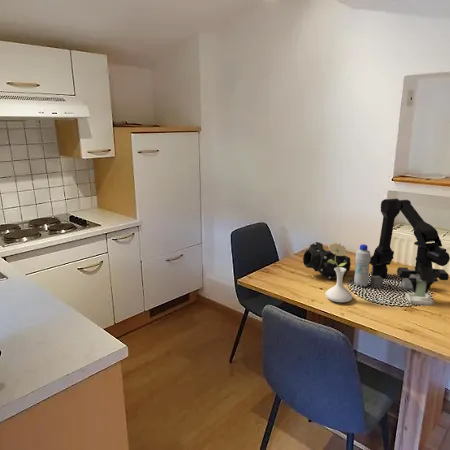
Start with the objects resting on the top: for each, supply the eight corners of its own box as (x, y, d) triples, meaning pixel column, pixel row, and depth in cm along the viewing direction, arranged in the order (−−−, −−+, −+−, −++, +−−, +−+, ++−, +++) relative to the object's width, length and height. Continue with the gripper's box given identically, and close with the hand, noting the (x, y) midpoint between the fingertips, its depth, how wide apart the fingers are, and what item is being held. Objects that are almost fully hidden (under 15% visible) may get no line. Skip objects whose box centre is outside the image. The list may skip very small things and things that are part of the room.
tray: (410, 304, 163) (410, 300, 162) (405, 295, 170) (405, 292, 170) (433, 305, 161) (433, 302, 161) (427, 297, 169) (428, 293, 168)
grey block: (374, 287, 180) (374, 279, 179) (370, 284, 184) (370, 276, 183) (382, 287, 180) (383, 279, 179) (378, 283, 184) (379, 275, 183)
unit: (402, 289, 177) (404, 273, 175) (399, 284, 182) (401, 268, 180) (427, 291, 175) (429, 274, 173) (423, 286, 180) (425, 269, 178)
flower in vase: (358, 300, 167) (362, 245, 161) (339, 307, 161) (343, 250, 155) (334, 290, 178) (337, 237, 171) (316, 296, 172) (319, 242, 166)
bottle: (361, 289, 178) (364, 247, 173) (350, 284, 184) (353, 243, 179) (371, 286, 181) (375, 245, 176) (360, 281, 187) (363, 241, 182)
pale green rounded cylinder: (415, 296, 164) (417, 283, 162) (413, 292, 167) (414, 279, 166) (426, 297, 163) (427, 283, 161) (423, 293, 167) (425, 280, 165)
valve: (328, 240, 216) (359, 256, 187) (321, 265, 218) (351, 284, 190) (293, 234, 210) (319, 248, 181) (286, 259, 212) (311, 278, 184)
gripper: (404, 263, 155) (400, 299, 159) (455, 265, 151) (450, 302, 156) (398, 254, 166) (394, 288, 170) (446, 256, 162) (441, 290, 166)
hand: (419, 292), depth 165 cm, fingers closed on pale green rounded cylinder, 4 cm apart
